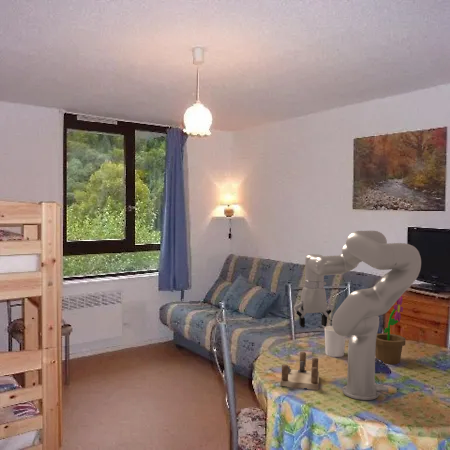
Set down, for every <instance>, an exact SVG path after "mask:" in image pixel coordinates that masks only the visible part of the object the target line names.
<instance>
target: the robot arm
mask: <svg viewBox="0 0 450 450" xmlns="http://www.w3.org/2000/svg"><path fill="white" fill-rule="evenodd" d="M387 241H388V240H387V237H386V236H385V235H384V234H383V233H382V232H380V231H378V230H356V231H353V232H351V233H350V234H349V235H348V236H347V237H346V241H345V244H344V245H343V246H342V249H341V254H339V255H324V256H323V255H321V254H313V253H312V254H308V255H306V257H305V263H304V265H305V267H304V286H303V287H302V290H301V294H300V302H299V303H297V304H295V305H294V306H293V309H294V312H295V314H296V315H297V316H298V318H299V320H298V321H299V326H300V327H301V328H304V329H305V327H306V325H305V323H306V318H305V316H306V315H307V314H317V313H318V314H319V313H321V314H322V315H321V326H323V327H324V328H325V327H326V326H327V324H328V317H329V315H330V314H331V313H332V311H333V309H334V305H333V304H331V303H330V302H327V292H326V289H325V286H326V285H327V282H326V281H325V280H324V279H325V276H332V275H342V274H346V273H348V272H351V271H352V270H355V269H356V268H357V267H358V266H359V264H360V263H362V262H363V263H364V264H367V266H370V267H371V268H373V269H376V270H378V271H379V270H380V271H385V270H386V271H387V270H388V272H387V273H385V274H384V275H382V277H380V279H379V280H378V281H377V283H376V284H375V285H374V286H372V287H370V288H363V289H361V288H360V289H356V290H353V291H352V292H350V293H349V294H348V295H347V296H346V297H345V299H343V301H342V303H341V304H340V306H338V308H337V309H336V310H335V312H334V313H333V316H332V319H331V326H333V329H334V331H335V332H336V333H337V334H338V335H340V336H346V337H349V339H348V345H347V372H346V373H347V377H346V378H347V379H346V383H347V384H346V385H344V386H343V387H342V393H343V394H344V395H345V396H347V397H348V398H352V399H355V400H358V401H359V400H361V401H372V400H375V399H377V398H379V396H380V395H379V392H383V393H389V386H384V384H381V383H380V384H379V383H377V382H376V380H375V378H376V377H375V372H376V354H375V351H376V337H377V334H378V331H379V325H380V317H379V316H382V315H385V314H386V313H388V312H389V310H390V309H391V308H392V307H394V305H396V303H397V300H398V299H399V298H400V297H401V296H403V294H404V293H405V292H406V291H407V290H408V289H409V288H410V287H411V286H412V285H413V283H415V281H416V280H417V279H418V277H419V275H420V272H421V270H422V269H421V268H422V258H421V255H420V251H419V250H418V249H417V248H416V247H415V246H414V245H413V244H412V245H411V244H409V243H403V242H397V243H395V242H394V243H393V242H391V243H387ZM327 307H328V308H327Z"/></svg>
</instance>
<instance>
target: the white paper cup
mask: <svg viewBox="0 0 450 450" xmlns="http://www.w3.org/2000/svg"><path fill="white" fill-rule="evenodd" d="M346 337H347V336H340V335H338V334H337V333H336V332H335V331H334V329H333V326H332V325H328V326H327V325H326V327H325V326H324V350H325V351H324V353H325V355H326V356H328V357H331V358H341V357H344V355H345V346H346Z"/></svg>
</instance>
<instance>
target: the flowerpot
mask: <svg viewBox="0 0 450 450" xmlns="http://www.w3.org/2000/svg"><path fill="white" fill-rule="evenodd" d="M402 303H403V295H401V297H400V298H399V299H398V300H397V301H396V304H394V305H393V310H392V311H391V313H390V314H389V319H388V323H387V327H385V328H384V331H383V332H384V333H383V332H382V333H378V332H377V337H376V351H375V359H376V358H378V359H380V360H382V361H383V362H384V363H383V364H387V365H398V364H401V357H402V352H403V346H406V337H404V336H401V335H398V334H394V333H391V326H395V325H396V324H397V323H400V322H401V318H402V317H401V316H402V315H401V313H403V311H404V307H403V306H402ZM393 315H394V317H393Z"/></svg>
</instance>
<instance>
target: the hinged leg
mask: <svg viewBox="0 0 450 450" xmlns="http://www.w3.org/2000/svg"><path fill="white" fill-rule="evenodd" d="M306 367H307V353H306V352H305V351H299V370H300V371H301V372H304V371H305V370H306Z"/></svg>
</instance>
